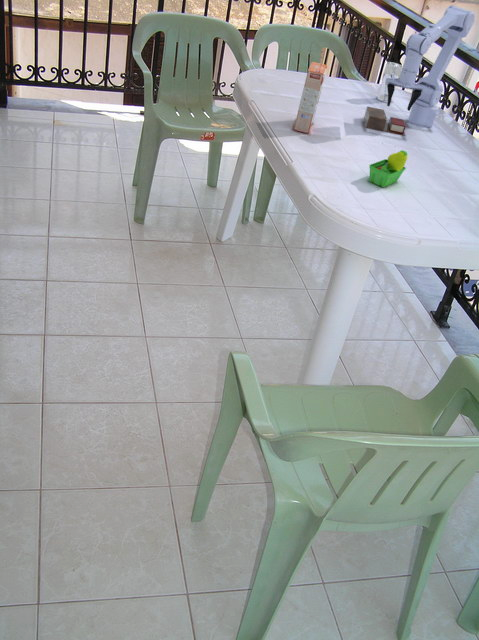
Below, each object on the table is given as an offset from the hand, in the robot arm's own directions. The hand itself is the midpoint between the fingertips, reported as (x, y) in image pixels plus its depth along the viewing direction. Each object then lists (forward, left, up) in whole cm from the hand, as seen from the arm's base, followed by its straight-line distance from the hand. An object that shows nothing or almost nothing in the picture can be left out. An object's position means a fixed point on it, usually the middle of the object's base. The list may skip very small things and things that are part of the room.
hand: (398, 107), depth 252 cm
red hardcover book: (-1, +1, -8) cm, 8 cm away
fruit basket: (+7, +54, -9) cm, 55 cm away
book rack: (+3, +1, -9) cm, 10 cm away
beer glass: (-2, -43, -9) cm, 44 cm away
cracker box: (+33, +16, -9) cm, 38 cm away
